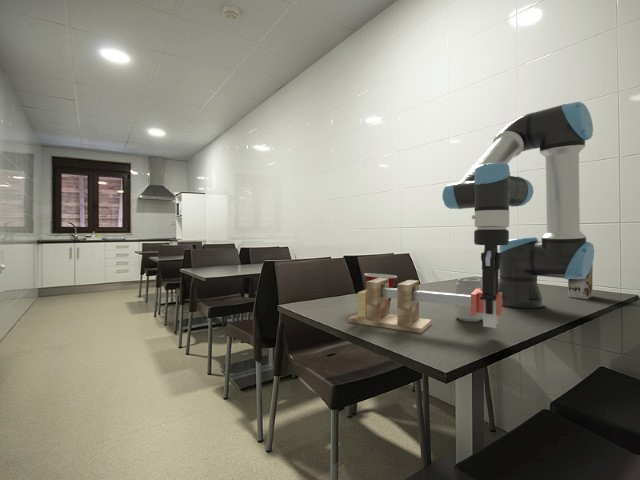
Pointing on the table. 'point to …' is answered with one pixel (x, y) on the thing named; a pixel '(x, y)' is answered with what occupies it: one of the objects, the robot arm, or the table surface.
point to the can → (467, 288)
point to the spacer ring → (362, 304)
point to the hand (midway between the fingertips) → (490, 324)
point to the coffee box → (581, 286)
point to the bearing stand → (380, 307)
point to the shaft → (449, 298)
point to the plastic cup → (374, 276)
